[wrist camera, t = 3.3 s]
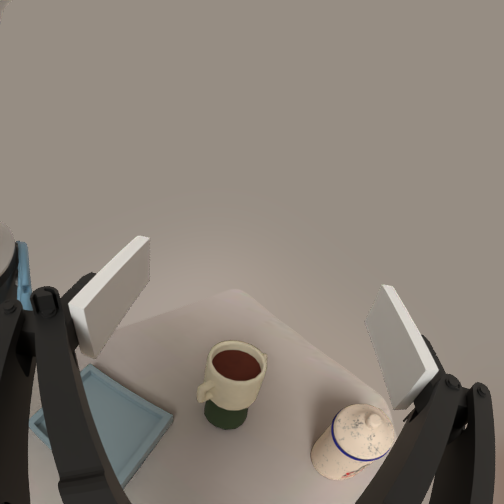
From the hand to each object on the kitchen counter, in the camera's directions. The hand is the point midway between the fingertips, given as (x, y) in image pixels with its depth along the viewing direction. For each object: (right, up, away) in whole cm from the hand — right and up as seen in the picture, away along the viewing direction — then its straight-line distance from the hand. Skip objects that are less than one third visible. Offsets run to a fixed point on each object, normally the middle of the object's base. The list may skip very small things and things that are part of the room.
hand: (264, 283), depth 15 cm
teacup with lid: (+13, -28, +18) cm, 36 cm away
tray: (-22, -23, +14) cm, 34 cm away
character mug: (-5, -23, +22) cm, 32 cm away
